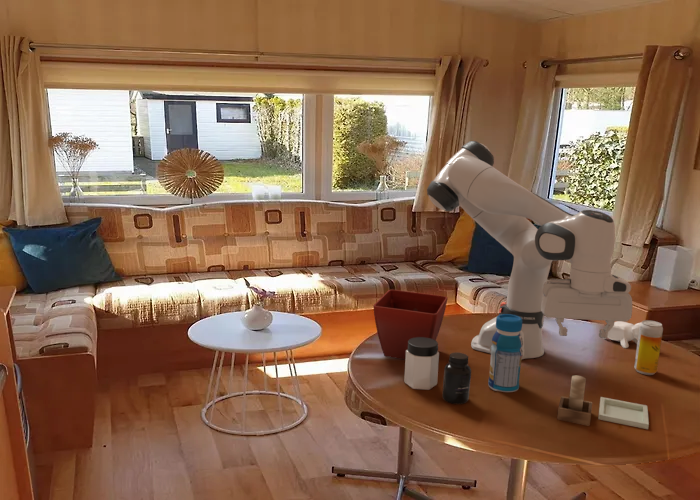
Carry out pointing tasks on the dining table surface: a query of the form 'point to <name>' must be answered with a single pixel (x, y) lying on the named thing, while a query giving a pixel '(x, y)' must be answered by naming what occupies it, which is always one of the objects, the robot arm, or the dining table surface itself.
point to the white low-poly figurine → (624, 332)
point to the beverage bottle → (506, 354)
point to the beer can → (648, 347)
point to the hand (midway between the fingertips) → (582, 336)
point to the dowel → (577, 393)
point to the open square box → (574, 412)
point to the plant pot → (407, 319)
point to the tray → (623, 412)
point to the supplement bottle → (457, 379)
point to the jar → (421, 363)
